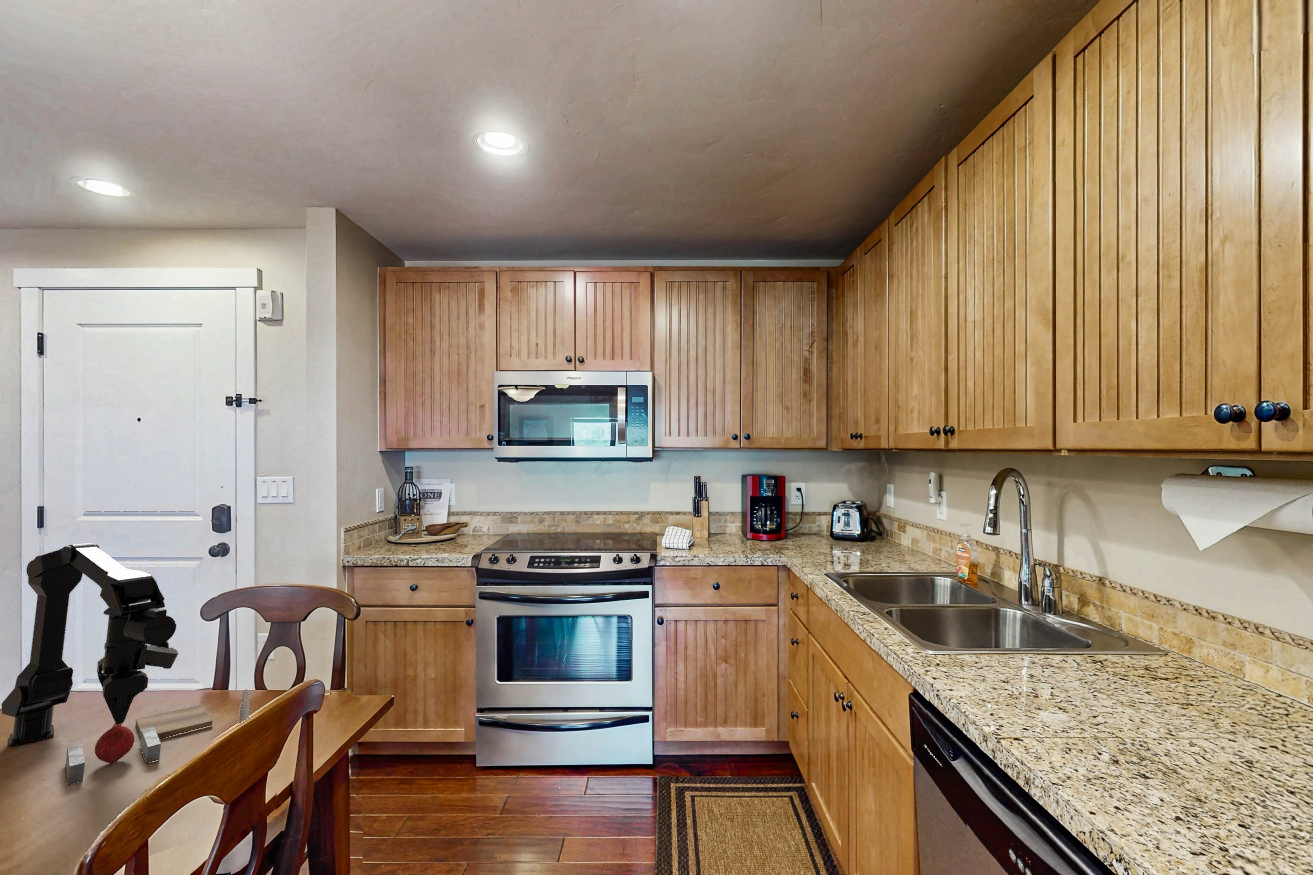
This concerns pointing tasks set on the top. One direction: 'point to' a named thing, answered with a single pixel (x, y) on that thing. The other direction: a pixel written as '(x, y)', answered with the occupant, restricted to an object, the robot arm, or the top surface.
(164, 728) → the tan board
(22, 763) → the top surface
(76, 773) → the twin grey rails
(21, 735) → the robot arm
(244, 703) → the screw
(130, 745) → the onion
